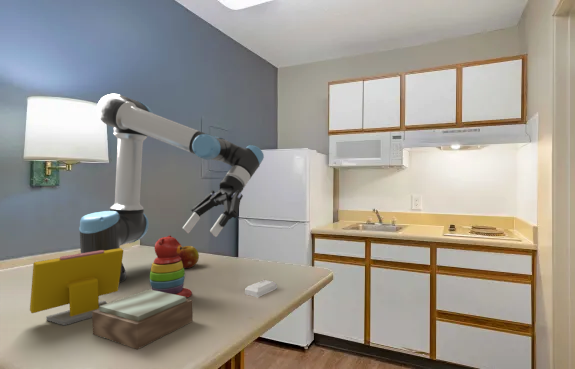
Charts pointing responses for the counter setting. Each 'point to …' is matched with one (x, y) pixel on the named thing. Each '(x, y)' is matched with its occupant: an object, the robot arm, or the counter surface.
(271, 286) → the white beveled block
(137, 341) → the plinth
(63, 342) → the counter surface
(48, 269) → the toy computer monitor
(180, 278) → the stacking bear
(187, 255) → the fruit
